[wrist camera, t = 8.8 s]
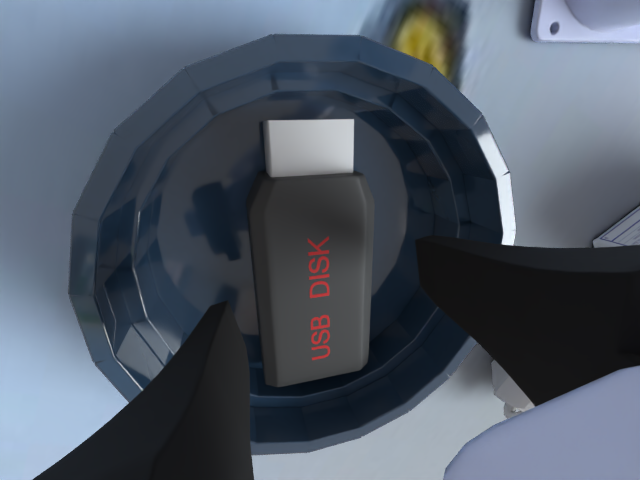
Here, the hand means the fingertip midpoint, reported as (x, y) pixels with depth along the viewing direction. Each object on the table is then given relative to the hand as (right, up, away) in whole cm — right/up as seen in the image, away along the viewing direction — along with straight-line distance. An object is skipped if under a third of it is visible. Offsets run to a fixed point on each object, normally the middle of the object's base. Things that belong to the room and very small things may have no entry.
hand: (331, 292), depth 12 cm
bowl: (-1, +2, +4) cm, 5 cm away
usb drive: (-1, +1, +4) cm, 4 cm away
